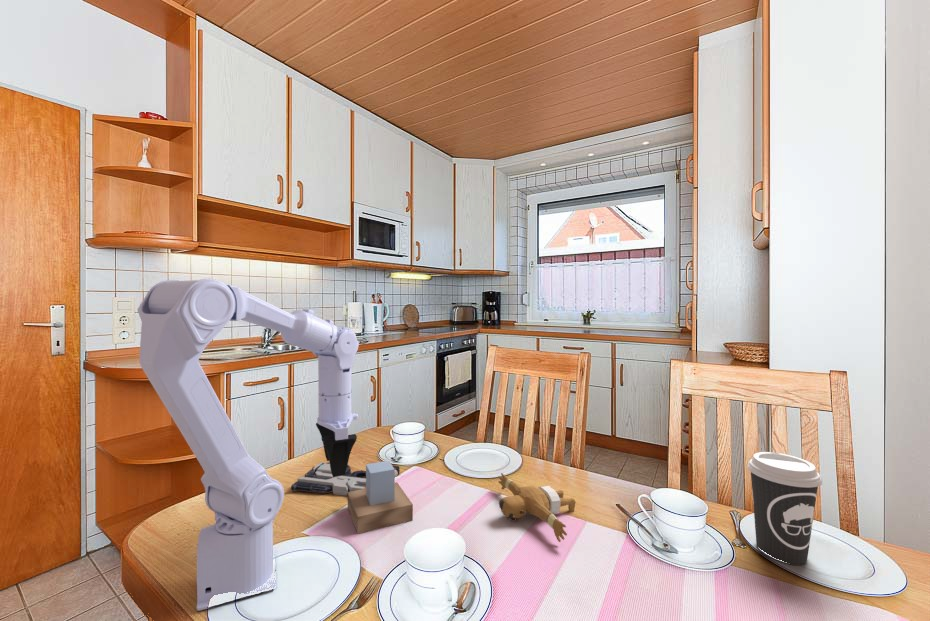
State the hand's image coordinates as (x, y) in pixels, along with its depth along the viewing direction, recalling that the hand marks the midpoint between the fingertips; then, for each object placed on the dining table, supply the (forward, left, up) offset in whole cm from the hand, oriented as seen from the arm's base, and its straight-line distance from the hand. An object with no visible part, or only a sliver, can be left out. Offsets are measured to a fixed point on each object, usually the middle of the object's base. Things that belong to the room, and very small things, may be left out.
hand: (335, 467), depth 73 cm
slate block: (+8, 0, -7) cm, 11 cm away
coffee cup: (+64, -40, -11) cm, 76 cm away
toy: (+35, -13, -11) cm, 39 cm away
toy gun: (+6, +16, -11) cm, 21 cm away
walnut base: (+8, 0, -10) cm, 13 cm away
